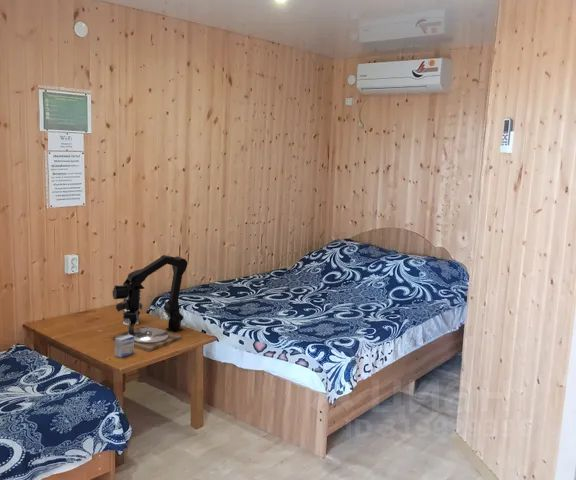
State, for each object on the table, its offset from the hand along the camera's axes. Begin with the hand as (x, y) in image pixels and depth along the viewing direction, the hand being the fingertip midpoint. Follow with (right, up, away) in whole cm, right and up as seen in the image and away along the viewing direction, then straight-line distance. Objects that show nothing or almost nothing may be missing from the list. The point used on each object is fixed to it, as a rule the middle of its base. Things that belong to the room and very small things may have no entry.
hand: (132, 326), depth 292 cm
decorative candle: (-6, -1, +19) cm, 20 cm away
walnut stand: (+8, -6, -3) cm, 11 cm away
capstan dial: (+9, -4, -3) cm, 10 cm away
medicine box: (+3, -10, -25) cm, 26 cm away
